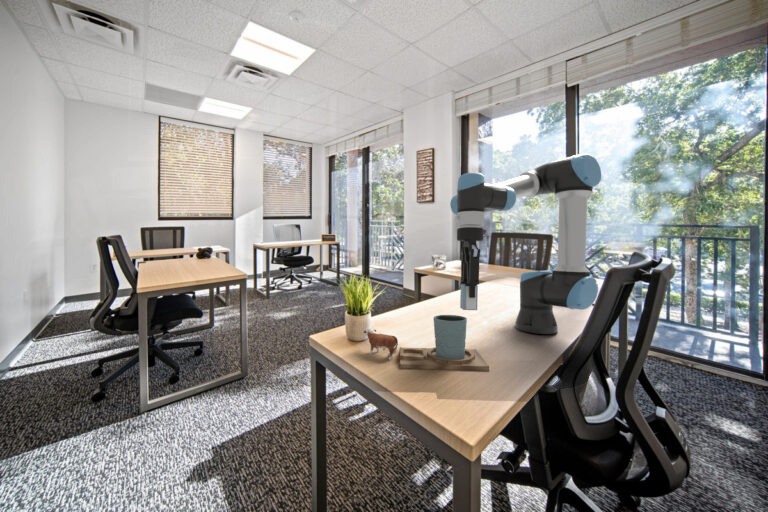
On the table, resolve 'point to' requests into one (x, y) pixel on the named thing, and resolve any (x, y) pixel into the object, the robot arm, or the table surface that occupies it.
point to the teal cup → (450, 336)
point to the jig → (440, 360)
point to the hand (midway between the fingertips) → (468, 307)
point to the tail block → (463, 297)
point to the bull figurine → (381, 341)
